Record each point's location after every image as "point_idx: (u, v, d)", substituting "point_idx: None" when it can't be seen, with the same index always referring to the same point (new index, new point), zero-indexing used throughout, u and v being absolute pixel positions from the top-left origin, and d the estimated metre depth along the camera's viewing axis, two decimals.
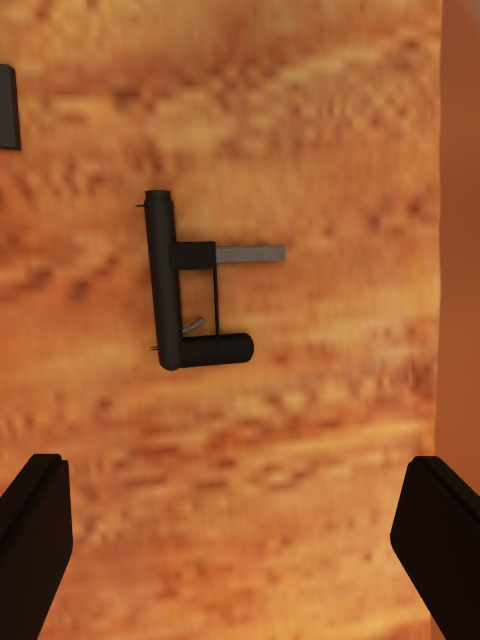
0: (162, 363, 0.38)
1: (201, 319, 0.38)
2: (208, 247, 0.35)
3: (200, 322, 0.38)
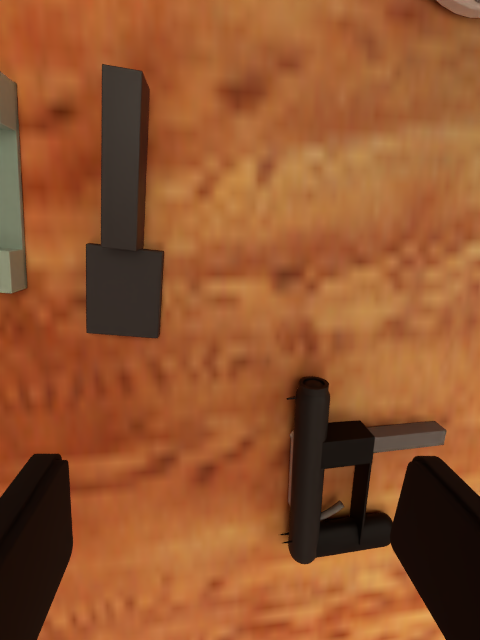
0: (296, 558, 0.33)
1: (341, 506, 0.33)
2: (366, 442, 0.30)
3: (339, 509, 0.33)
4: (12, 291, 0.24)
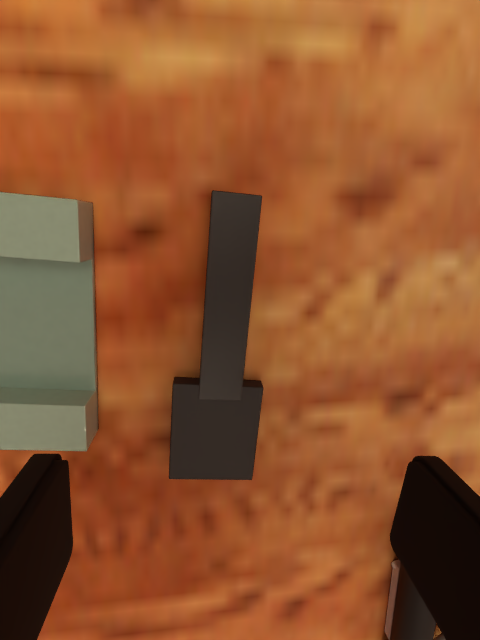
0: None
1: None
2: None
3: None
4: (87, 448, 0.19)
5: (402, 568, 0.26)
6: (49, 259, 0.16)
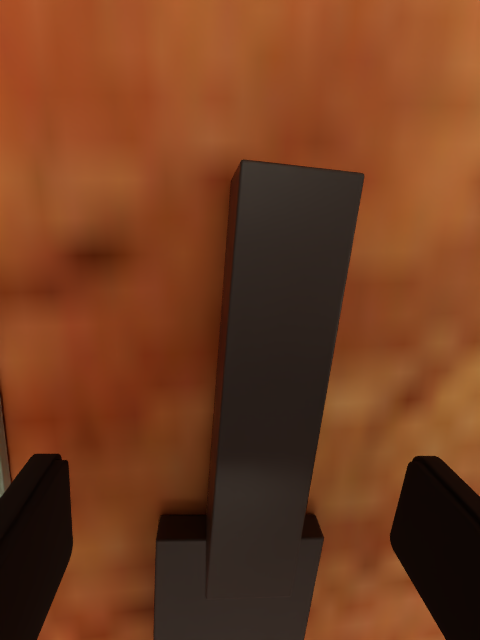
0: None
1: None
2: None
3: None
4: None
5: None
6: None
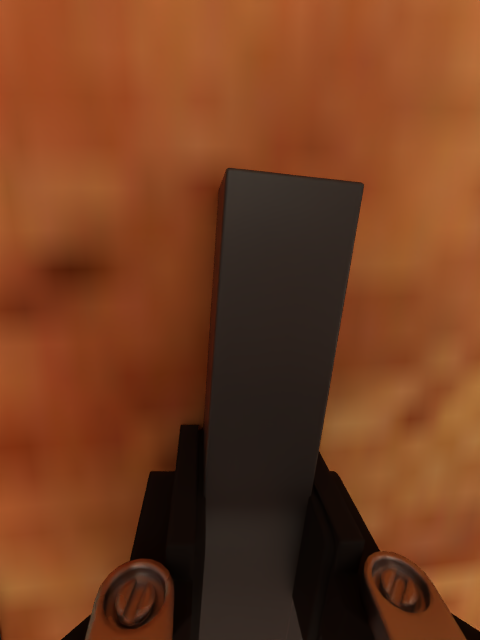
0: None
1: None
2: None
3: None
4: None
5: None
6: None
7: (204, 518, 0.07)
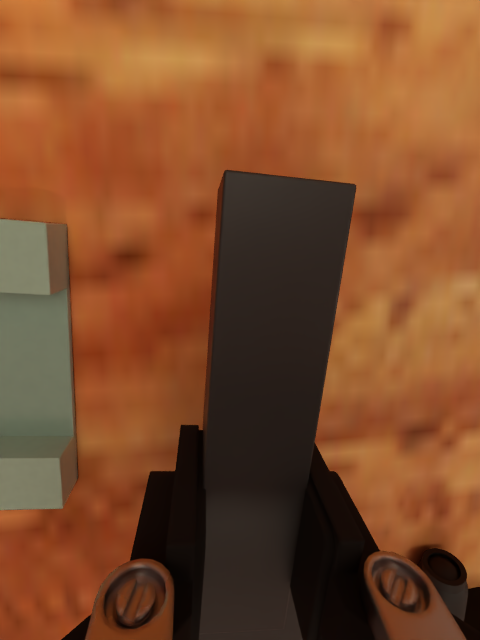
0: None
1: None
2: None
3: None
4: (63, 504, 0.17)
5: None
6: (13, 292, 0.14)
7: (204, 518, 0.07)
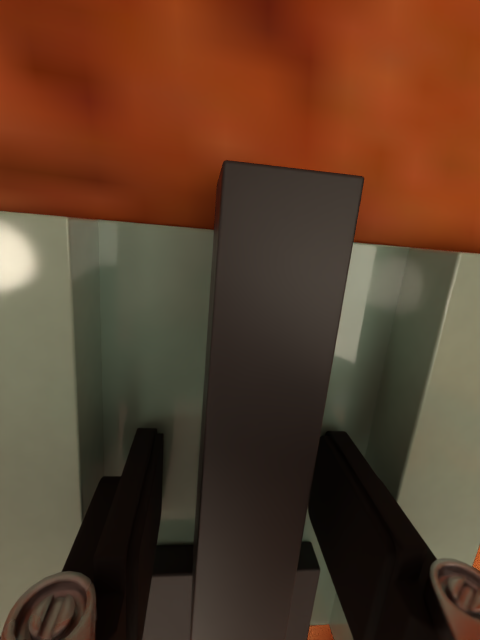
0: None
1: None
2: None
3: None
4: None
5: None
6: None
7: (142, 527, 0.06)
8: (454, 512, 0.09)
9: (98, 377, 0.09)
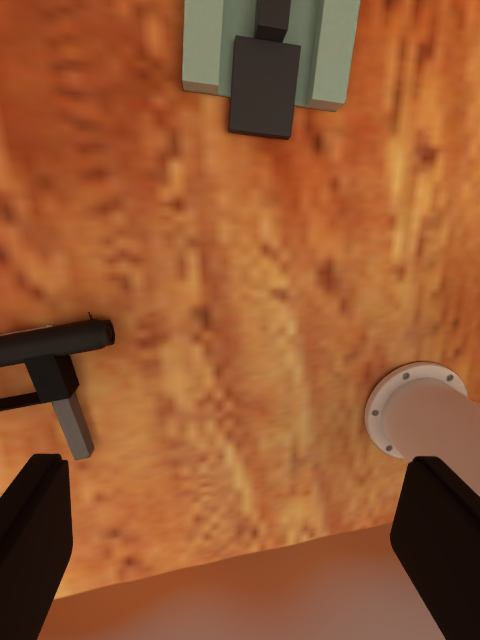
0: None
1: None
2: (62, 392, 0.32)
3: None
4: (183, 81, 0.27)
5: (55, 326, 0.32)
6: (315, 79, 0.28)
7: None
8: (346, 2, 0.27)
9: None
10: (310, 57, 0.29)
